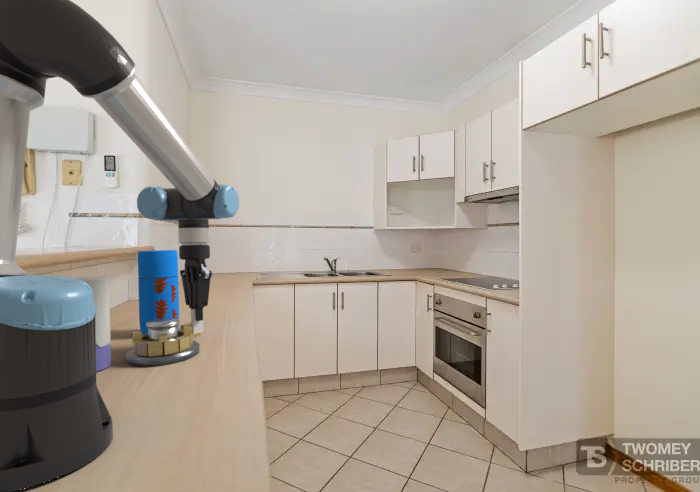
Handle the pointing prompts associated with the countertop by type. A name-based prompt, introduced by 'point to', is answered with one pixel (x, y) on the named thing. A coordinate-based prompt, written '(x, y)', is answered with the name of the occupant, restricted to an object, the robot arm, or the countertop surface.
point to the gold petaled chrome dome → (163, 342)
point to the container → (101, 319)
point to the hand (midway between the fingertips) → (197, 332)
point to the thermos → (157, 286)
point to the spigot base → (161, 358)
